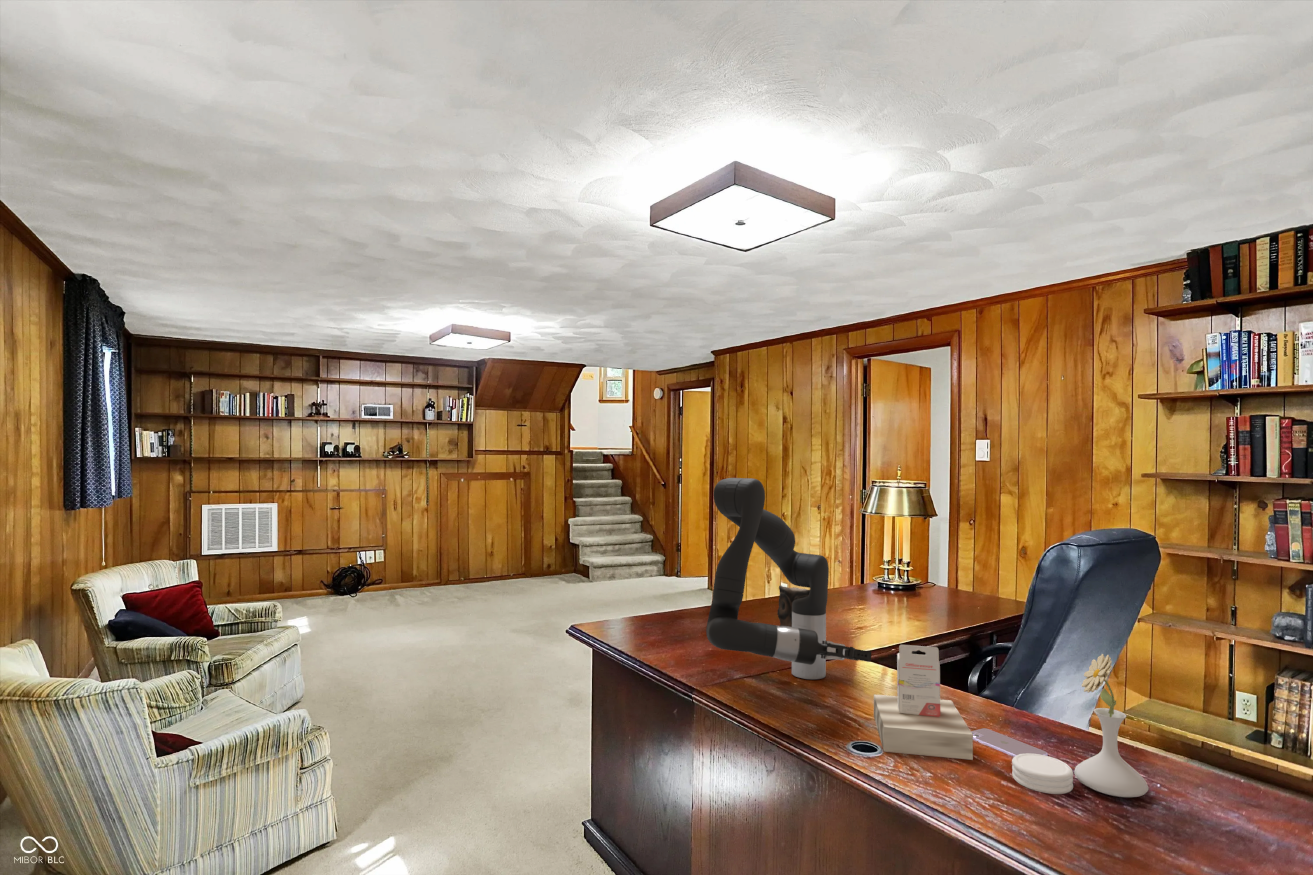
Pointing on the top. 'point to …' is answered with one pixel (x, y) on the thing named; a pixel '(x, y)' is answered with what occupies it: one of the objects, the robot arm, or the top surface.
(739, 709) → the top surface
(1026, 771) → the coaster
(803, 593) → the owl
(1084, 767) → the flower in vase
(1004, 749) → the mobile phone
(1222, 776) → the top surface
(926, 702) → the ink cartridge box
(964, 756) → the plinth
